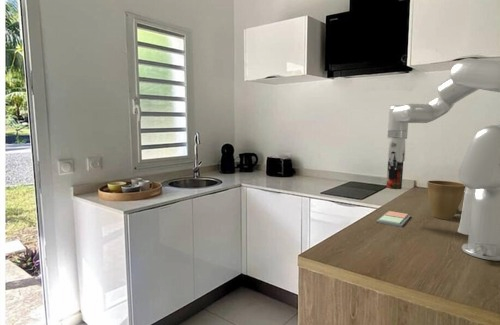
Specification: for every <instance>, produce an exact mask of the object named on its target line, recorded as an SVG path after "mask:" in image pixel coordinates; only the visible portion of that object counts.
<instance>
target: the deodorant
mask: <svg viewBox="0 0 500 325" xmlns="http://www.w3.org/2000/svg"><path fill="white" fill-rule="evenodd" d="M403 161H404V153H403ZM403 161H402V162H401V163H399V162H398V164H397V179H389V166H390V162H389V161H388V160H387V171H386V172H387V173H386V185H385V187H386V188H387V189H388V190H389V189H390V190H402V189H403V187H402V186H403V172H404V162H405V161H404V162H403ZM394 162H396V161H395V160H394Z"/></svg>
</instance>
